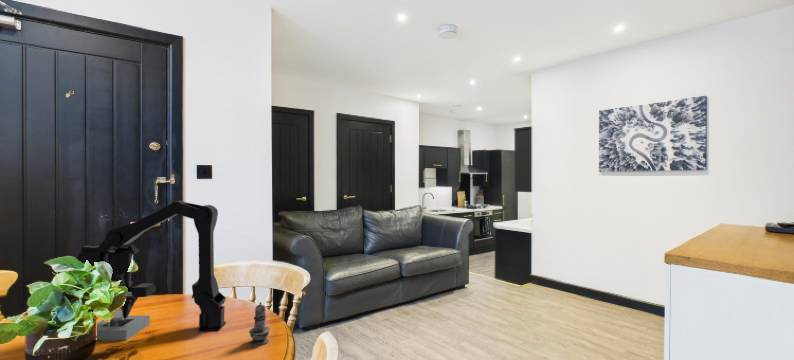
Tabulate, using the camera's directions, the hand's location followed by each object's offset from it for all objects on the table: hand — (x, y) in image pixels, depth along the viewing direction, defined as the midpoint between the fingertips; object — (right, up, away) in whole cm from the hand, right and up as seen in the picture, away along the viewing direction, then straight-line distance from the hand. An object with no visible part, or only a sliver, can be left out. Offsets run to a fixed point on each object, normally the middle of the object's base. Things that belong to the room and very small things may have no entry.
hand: (118, 317), depth 113 cm
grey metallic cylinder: (0, -3, 0) cm, 3 cm away
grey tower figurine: (+46, -6, -4) cm, 46 cm away
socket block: (0, -5, 0) cm, 4 cm away
